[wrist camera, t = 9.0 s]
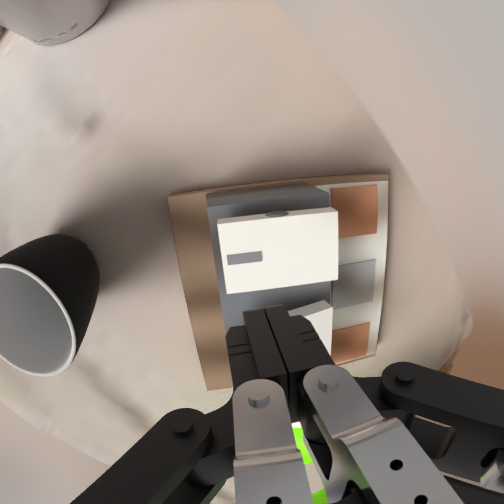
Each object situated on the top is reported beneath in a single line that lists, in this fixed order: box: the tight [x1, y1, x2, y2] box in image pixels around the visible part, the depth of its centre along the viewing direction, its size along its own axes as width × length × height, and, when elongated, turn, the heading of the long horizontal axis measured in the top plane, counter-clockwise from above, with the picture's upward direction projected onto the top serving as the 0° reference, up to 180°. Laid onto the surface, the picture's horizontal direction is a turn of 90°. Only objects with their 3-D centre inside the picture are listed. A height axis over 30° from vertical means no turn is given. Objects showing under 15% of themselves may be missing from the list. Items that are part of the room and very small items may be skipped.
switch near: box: [217, 207, 338, 294], centre depth 19 cm, size 4×7×2 cm, turn 95°
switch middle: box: [239, 300, 333, 355], centre depth 22 cm, size 4×7×2 cm, turn 95°
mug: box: [0, 234, 99, 376], centre depth 21 cm, size 12×9×10 cm
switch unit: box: [167, 173, 389, 391], centre depth 27 cm, size 20×19×6 cm
